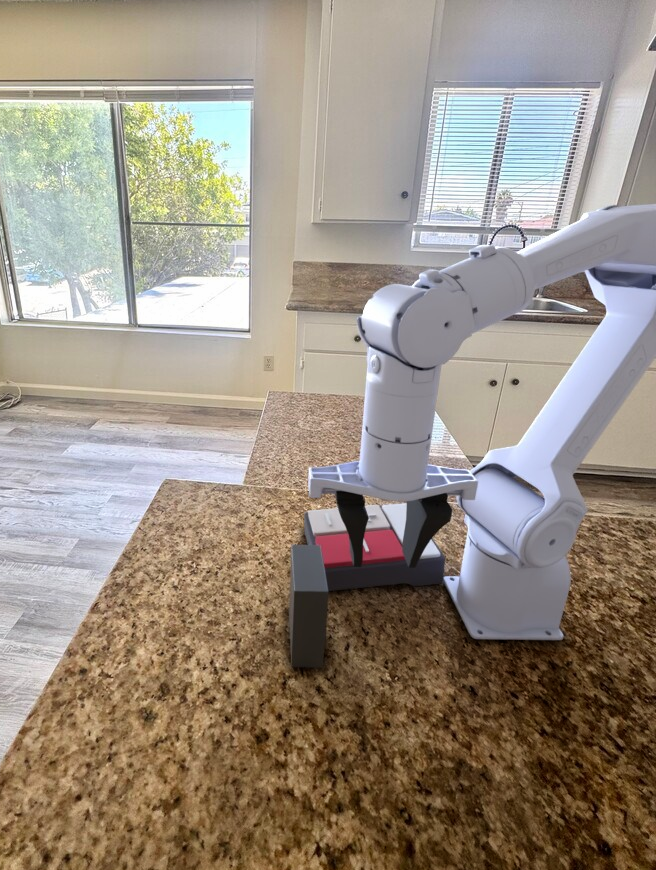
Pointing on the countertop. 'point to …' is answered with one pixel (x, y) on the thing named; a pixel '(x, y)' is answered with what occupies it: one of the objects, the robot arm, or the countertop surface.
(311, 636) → the block
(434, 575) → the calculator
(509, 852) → the countertop surface
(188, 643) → the countertop surface
